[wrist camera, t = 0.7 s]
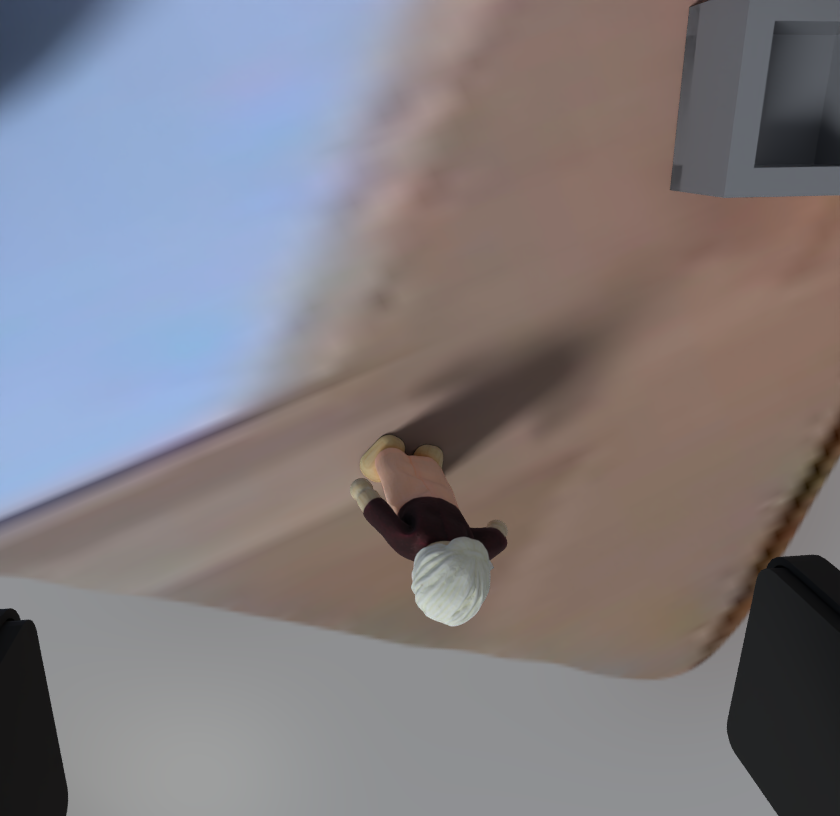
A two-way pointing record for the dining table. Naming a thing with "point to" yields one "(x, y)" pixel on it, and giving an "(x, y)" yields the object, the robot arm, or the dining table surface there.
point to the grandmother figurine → (428, 529)
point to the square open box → (760, 100)
